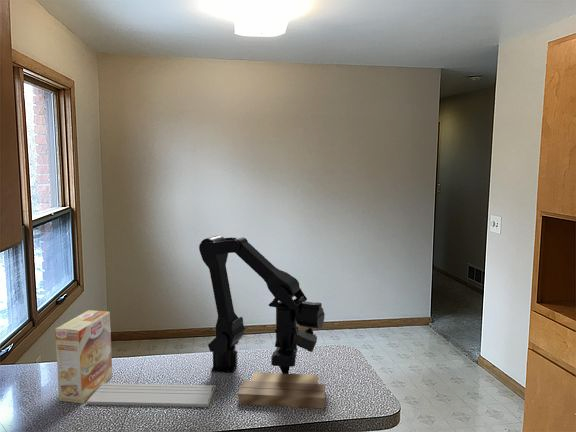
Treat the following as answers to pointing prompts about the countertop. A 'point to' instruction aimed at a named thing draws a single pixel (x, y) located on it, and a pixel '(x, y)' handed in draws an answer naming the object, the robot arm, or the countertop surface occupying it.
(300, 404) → the floor board
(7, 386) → the countertop surface
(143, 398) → the baseboard molding
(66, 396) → the coffeecake box
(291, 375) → the plank
